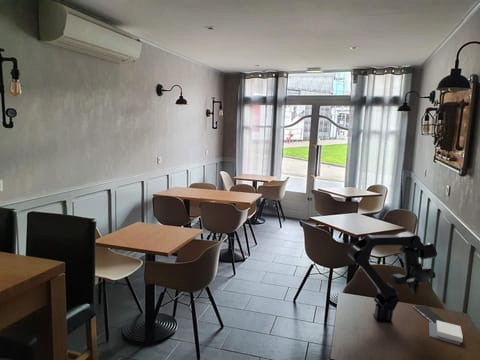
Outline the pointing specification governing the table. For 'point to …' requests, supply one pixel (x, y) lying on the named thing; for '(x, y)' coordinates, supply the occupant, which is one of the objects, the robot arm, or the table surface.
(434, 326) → the mat
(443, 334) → the tile
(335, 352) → the table surface
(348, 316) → the table surface
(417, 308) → the smartphone
